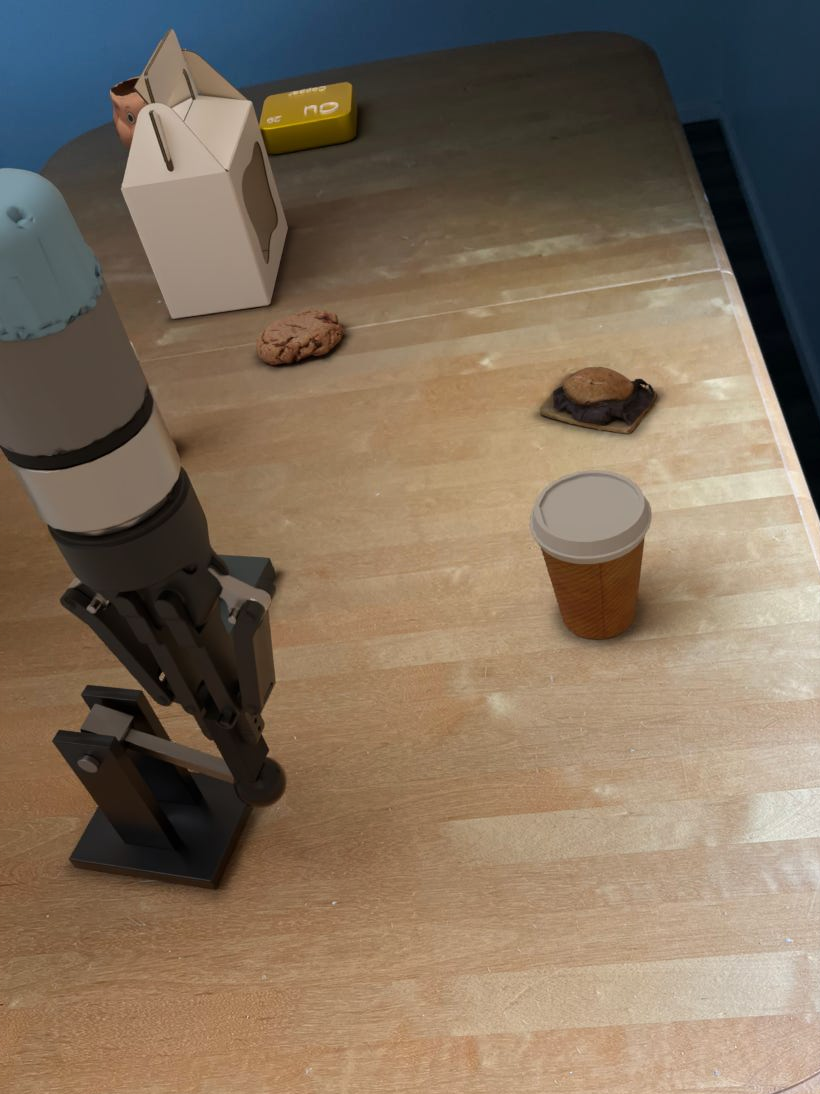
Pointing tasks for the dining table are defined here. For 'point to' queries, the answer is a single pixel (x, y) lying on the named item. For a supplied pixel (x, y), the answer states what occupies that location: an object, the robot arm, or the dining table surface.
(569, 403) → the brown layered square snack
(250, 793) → the lever handle
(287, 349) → the cookie
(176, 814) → the lever stand
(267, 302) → the gable box
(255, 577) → the control block
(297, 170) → the dining table surface
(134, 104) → the decorative planter
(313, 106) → the element tile
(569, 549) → the disposable coffee cup
